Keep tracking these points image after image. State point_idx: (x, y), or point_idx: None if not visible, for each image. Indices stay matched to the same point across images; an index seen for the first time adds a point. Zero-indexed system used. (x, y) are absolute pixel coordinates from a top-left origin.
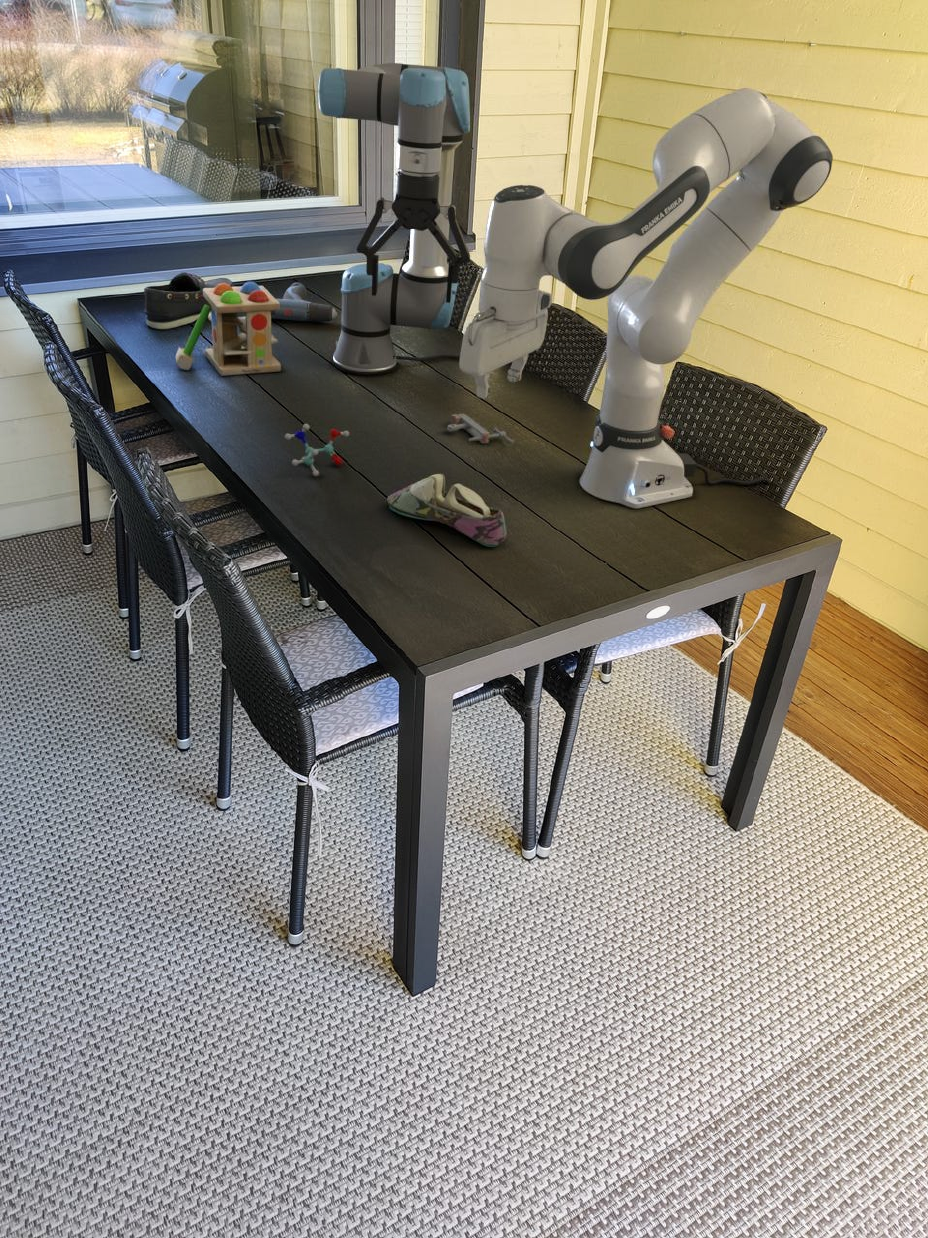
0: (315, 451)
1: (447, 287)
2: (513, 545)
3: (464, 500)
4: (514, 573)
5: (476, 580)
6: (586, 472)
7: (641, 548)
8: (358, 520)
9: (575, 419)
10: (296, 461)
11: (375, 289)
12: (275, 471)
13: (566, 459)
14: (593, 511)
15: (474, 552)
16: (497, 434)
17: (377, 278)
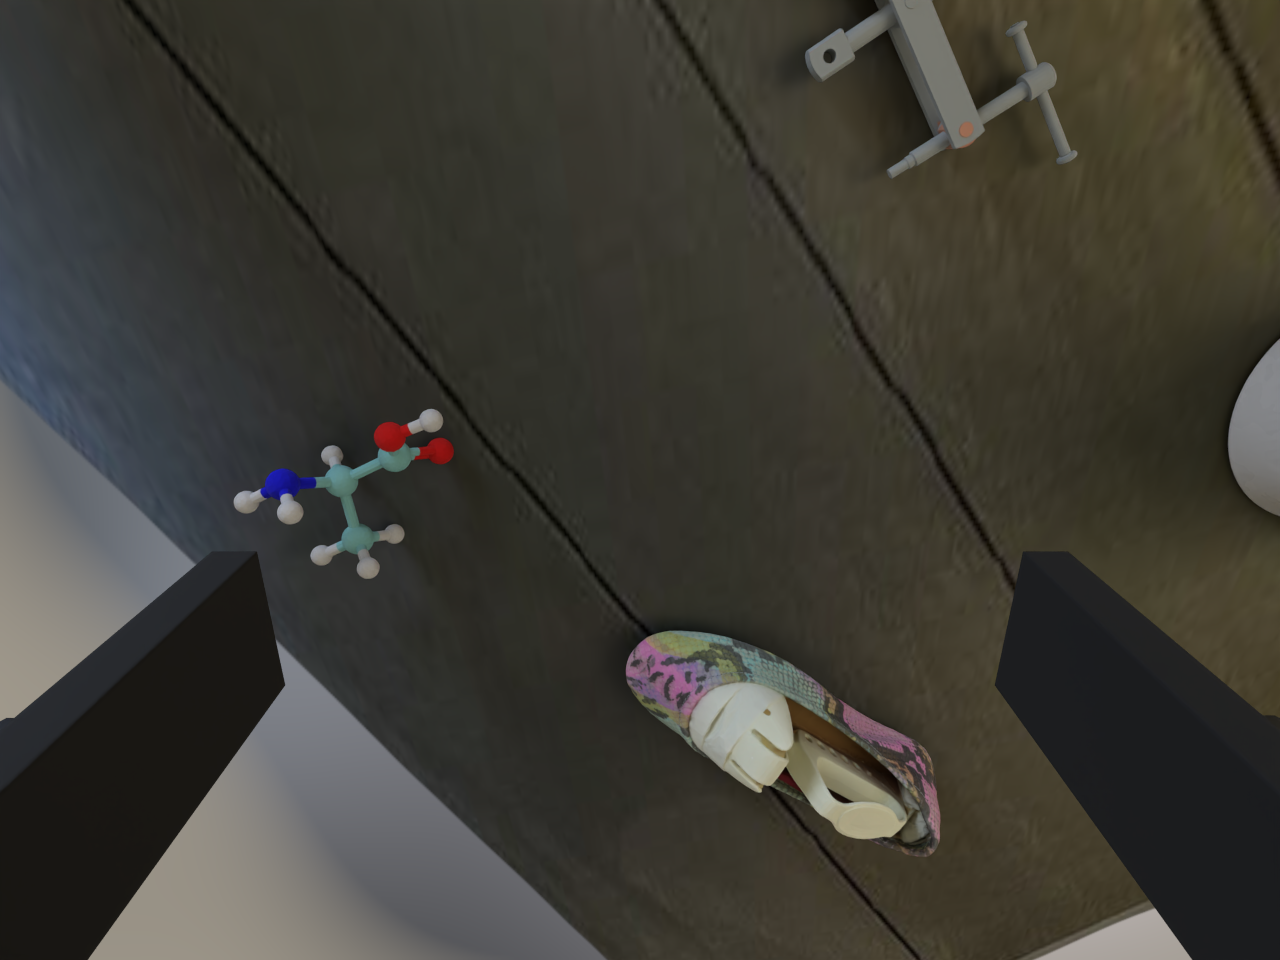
0: (370, 577)
1: (1082, 798)
2: (942, 764)
3: (841, 731)
4: (926, 858)
5: (841, 889)
6: (1277, 445)
7: None
8: (564, 721)
9: None
10: (325, 563)
11: (250, 725)
12: (273, 516)
13: (1248, 220)
14: (1208, 576)
15: None
16: (1016, 100)
17: (177, 675)
